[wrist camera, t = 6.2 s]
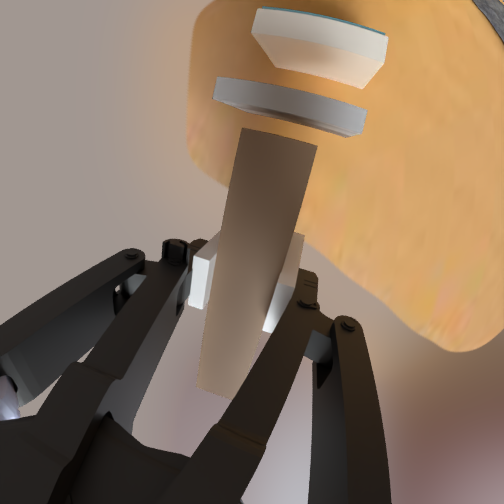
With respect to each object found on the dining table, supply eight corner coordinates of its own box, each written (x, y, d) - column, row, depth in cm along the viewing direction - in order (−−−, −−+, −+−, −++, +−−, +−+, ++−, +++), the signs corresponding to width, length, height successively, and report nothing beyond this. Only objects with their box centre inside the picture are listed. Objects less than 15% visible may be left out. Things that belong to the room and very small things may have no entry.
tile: (367, 67, 18) (389, 33, 10) (362, 89, 19) (384, 63, 11) (280, 46, 19) (258, 4, 11) (275, 67, 20) (250, 32, 12)
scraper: (349, 122, 14) (367, 110, 8) (274, 351, 22) (258, 408, 16) (252, 97, 15) (217, 76, 9) (206, 328, 22) (176, 378, 17)
